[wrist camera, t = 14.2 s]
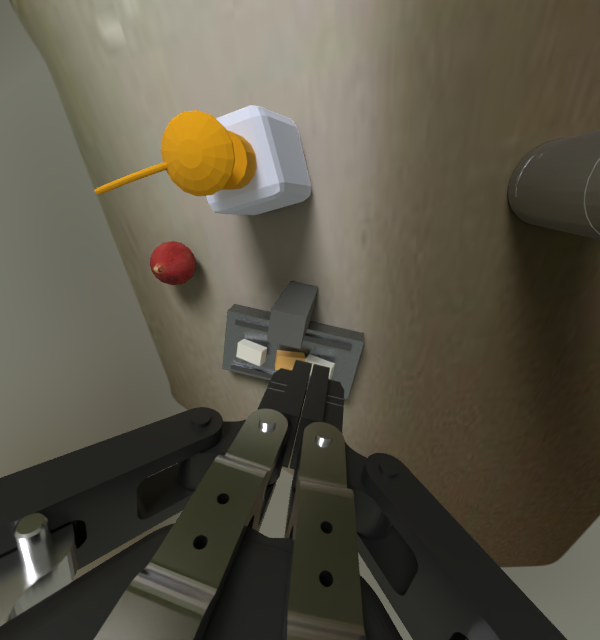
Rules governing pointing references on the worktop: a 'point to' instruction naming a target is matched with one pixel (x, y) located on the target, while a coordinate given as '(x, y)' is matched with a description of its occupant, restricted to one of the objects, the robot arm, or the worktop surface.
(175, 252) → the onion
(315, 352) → the breaker panel
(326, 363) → the paddle
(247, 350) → the paddle
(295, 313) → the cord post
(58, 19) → the worktop surface
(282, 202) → the soap bottle
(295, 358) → the orange block
